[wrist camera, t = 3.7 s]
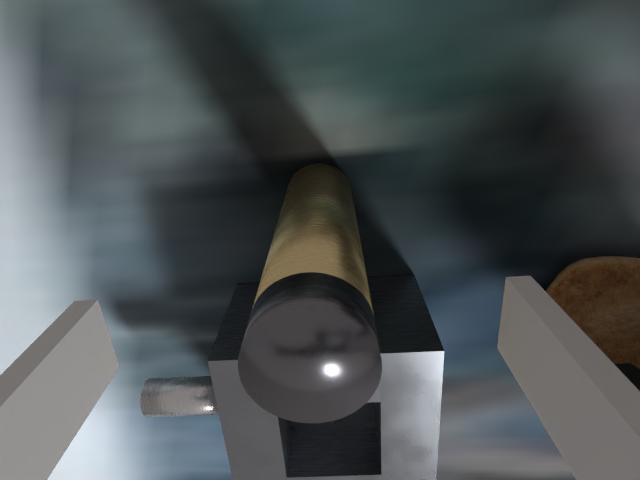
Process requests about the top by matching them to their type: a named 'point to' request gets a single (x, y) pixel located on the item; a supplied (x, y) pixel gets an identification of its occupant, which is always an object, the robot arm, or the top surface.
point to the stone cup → (604, 303)
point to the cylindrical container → (313, 308)
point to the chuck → (335, 436)
